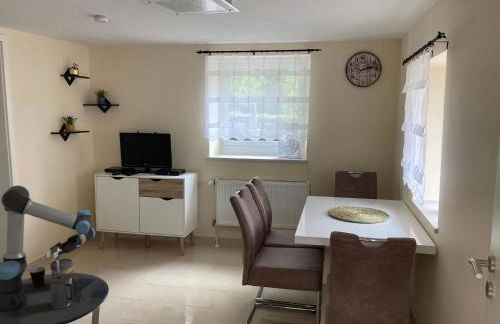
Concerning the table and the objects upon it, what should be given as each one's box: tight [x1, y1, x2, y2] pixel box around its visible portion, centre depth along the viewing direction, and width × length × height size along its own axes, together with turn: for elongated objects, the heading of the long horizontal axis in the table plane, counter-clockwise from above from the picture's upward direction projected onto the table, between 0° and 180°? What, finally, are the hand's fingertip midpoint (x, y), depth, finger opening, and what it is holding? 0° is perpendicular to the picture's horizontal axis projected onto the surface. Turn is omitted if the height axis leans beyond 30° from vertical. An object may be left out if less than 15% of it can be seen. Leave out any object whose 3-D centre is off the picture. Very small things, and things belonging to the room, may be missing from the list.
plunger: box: [52, 246, 62, 278], centre depth 228 cm, size 7×7×22 cm
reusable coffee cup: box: [50, 258, 74, 284], centre depth 255 cm, size 12×13×15 cm
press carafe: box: [44, 273, 75, 310], centre depth 230 cm, size 13×10×16 cm
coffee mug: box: [29, 266, 46, 288], centre depth 258 cm, size 12×9×10 cm
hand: (50, 255), depth 222 cm, fingers closed on plunger, 4 cm apart
